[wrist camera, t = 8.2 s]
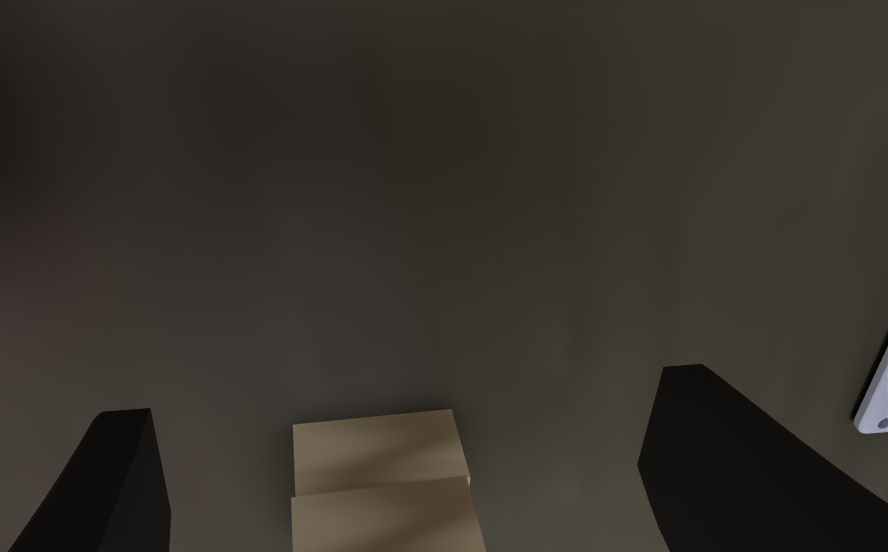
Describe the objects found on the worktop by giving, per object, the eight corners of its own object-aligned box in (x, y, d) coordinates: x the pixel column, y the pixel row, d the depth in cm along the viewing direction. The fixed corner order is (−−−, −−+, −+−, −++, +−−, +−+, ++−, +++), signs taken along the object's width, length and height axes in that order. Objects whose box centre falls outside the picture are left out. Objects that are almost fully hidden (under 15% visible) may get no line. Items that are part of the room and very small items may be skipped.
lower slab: (450, 406, 26) (470, 477, 24) (445, 510, 29) (461, 583, 26) (292, 421, 25) (295, 497, 23) (302, 527, 28) (306, 604, 26)
